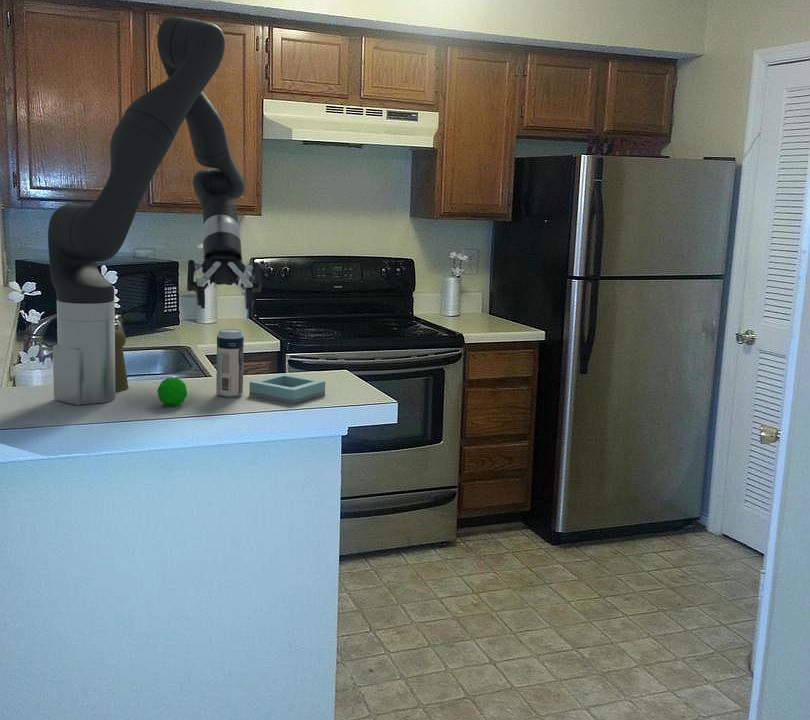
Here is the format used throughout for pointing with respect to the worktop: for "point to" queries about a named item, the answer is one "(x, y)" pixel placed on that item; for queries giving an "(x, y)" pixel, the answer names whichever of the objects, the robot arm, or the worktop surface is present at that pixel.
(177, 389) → the polyhedron
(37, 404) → the worktop surface
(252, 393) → the tray
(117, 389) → the brown pawn
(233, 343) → the beer can
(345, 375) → the worktop surface
